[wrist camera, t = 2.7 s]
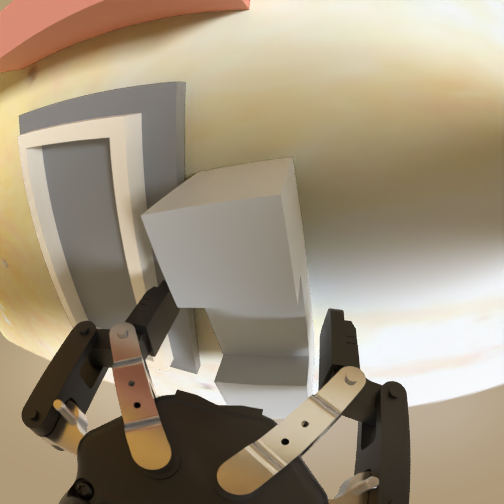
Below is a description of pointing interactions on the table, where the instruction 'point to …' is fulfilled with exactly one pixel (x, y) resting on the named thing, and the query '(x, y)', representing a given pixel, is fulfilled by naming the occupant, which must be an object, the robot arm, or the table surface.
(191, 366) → the jig
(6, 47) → the pink rectangular brick
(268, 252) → the stepped grey block
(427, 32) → the table surface
